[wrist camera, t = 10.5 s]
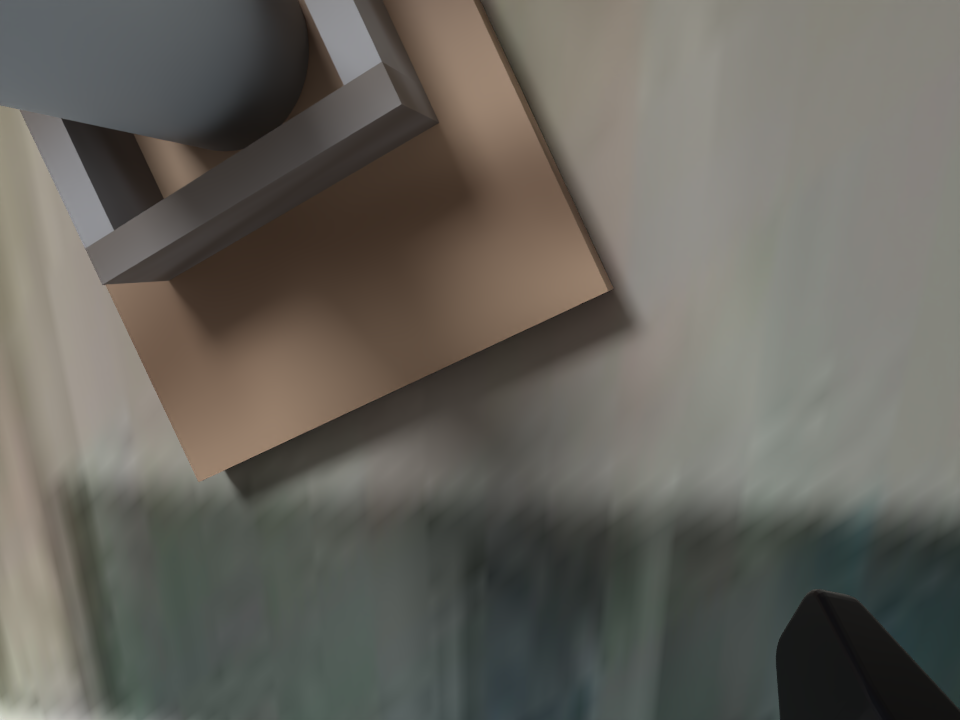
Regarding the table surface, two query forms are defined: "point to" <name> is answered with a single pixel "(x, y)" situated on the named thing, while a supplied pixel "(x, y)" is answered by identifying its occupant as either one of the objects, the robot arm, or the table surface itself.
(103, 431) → the table surface
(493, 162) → the jig board
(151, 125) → the peach-capped cylinder
